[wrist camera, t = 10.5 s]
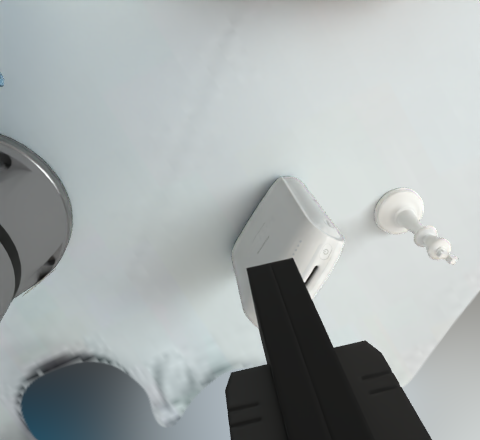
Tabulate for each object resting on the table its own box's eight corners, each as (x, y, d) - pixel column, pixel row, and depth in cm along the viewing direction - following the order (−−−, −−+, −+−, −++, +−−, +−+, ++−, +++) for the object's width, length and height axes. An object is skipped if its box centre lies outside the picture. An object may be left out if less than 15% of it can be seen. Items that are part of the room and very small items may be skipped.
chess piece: (405, 237, 45) (460, 293, 37) (365, 224, 44) (412, 279, 35) (430, 196, 44) (494, 244, 35) (389, 181, 42) (445, 227, 33)
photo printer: (279, 166, 40) (316, 226, 29) (316, 187, 42) (365, 251, 31) (223, 252, 44) (238, 335, 33) (259, 269, 45) (285, 354, 34)
